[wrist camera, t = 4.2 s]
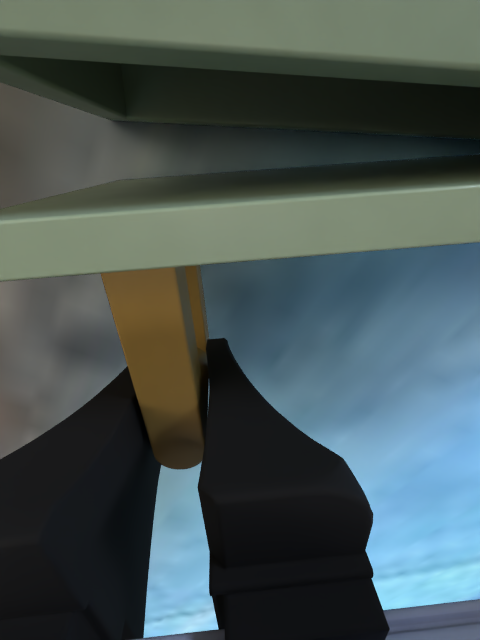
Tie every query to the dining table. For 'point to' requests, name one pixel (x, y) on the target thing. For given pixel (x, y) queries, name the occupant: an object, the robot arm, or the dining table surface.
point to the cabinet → (254, 62)
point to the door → (222, 254)
